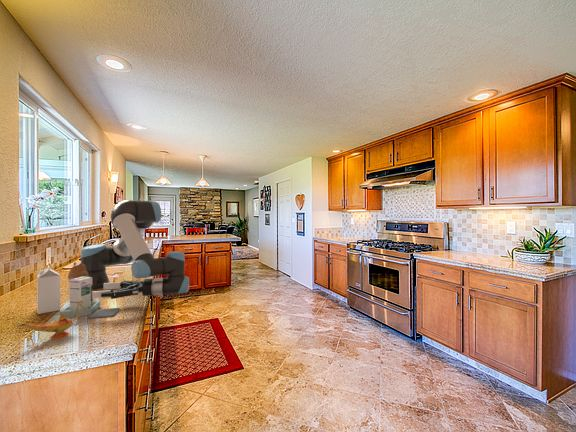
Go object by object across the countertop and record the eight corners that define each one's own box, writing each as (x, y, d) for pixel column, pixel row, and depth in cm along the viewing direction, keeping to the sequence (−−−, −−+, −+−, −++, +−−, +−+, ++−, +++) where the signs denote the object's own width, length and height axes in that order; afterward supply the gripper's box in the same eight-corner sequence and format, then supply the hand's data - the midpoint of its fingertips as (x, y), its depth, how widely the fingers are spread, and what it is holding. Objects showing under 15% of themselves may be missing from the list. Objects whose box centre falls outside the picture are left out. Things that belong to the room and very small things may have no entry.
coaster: (95, 311, 117) (95, 309, 117) (119, 309, 120) (119, 307, 120) (87, 318, 108) (87, 317, 108) (113, 316, 111) (113, 315, 111)
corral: (71, 308, 119) (71, 303, 119) (100, 306, 122) (100, 301, 122) (59, 317, 109) (59, 311, 109) (90, 315, 112) (90, 309, 112)
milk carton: (58, 306, 122) (58, 264, 122) (60, 310, 117) (60, 266, 117) (36, 310, 117) (37, 266, 117) (37, 314, 112) (37, 268, 112)
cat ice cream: (63, 300, 130) (63, 263, 130) (80, 296, 137) (80, 260, 137) (77, 302, 127) (77, 264, 127) (93, 297, 135) (93, 261, 135)
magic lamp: (14, 343, 87) (14, 309, 87) (82, 326, 101) (83, 296, 101) (17, 350, 83) (18, 314, 83) (88, 331, 97) (88, 300, 97)
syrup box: (80, 315, 112) (80, 279, 112) (68, 313, 114) (68, 279, 113) (92, 310, 118) (93, 276, 118) (81, 309, 119) (81, 276, 119)
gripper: (147, 303, 112) (87, 308, 105) (156, 287, 136) (107, 291, 129) (148, 285, 112) (87, 289, 105) (157, 272, 136) (107, 275, 129)
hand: (98, 290), depth 117 cm, fingers open, 13 cm apart
